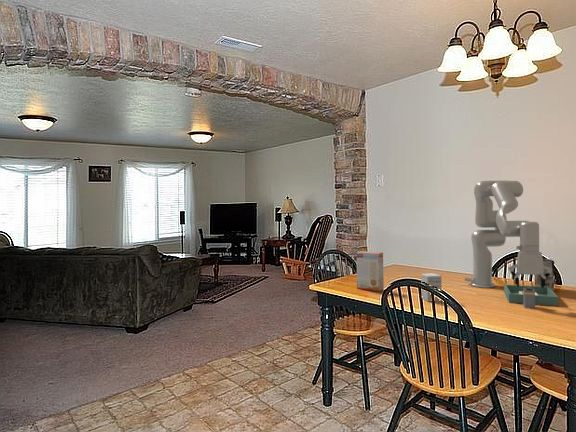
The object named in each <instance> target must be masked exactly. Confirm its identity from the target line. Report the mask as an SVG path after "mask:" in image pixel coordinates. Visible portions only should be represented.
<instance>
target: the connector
mask: <svg viewBox="0 0 576 432" xmlns="http://www.w3.org/2000/svg"><path fill="white" fill-rule="evenodd" d="M522 304H523V307H524V309H535V308H536V304H535V290H534V289H533V288H532V287H526V289H525V288H523V303H522Z"/></svg>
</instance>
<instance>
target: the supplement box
mask: <svg viewBox="0 0 576 432" xmlns="http://www.w3.org/2000/svg"><path fill="white" fill-rule="evenodd" d="M422 282H425V283H427V284H429V285H431V286H434V287H437V288H438V289H440V290H441V291H442V282H443V281H442V275H439V274H437V273H434V272H430V273H421V283H422ZM422 296H423V299H422V300H424V301H426V302H427V301H431V295H430V293H429V292H427V291H424V290H422V289H421V297H422ZM435 301H436V302H440V301H439V299H438V298H437V297H435Z"/></svg>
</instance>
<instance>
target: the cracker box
mask: <svg viewBox="0 0 576 432" xmlns="http://www.w3.org/2000/svg"><path fill="white" fill-rule="evenodd" d="M384 286H385V284H384V252H381V251H380V252H379V251H369V250H364V251H363V250H360V251H356V289H359V290H365V291H372V292H381V291H384V289H385V287H384Z"/></svg>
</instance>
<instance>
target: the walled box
mask: <svg viewBox="0 0 576 432" xmlns="http://www.w3.org/2000/svg"><path fill="white" fill-rule="evenodd" d="M526 287H532V288H533V289H534V290H535V305H540V306H554V307H558V306H559V296H558V295H557V294H556V293H555V292H554V291H552V290H551V289H550V288H549V287H544V288H542V287H539V286H535V285H534V286H533V285H520V284H519V287H517V285H516V284H503V293H504V295H505V297H506V299H507V302H508V303H512V304H513V303H514V304H523V288H525V289H526Z"/></svg>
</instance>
